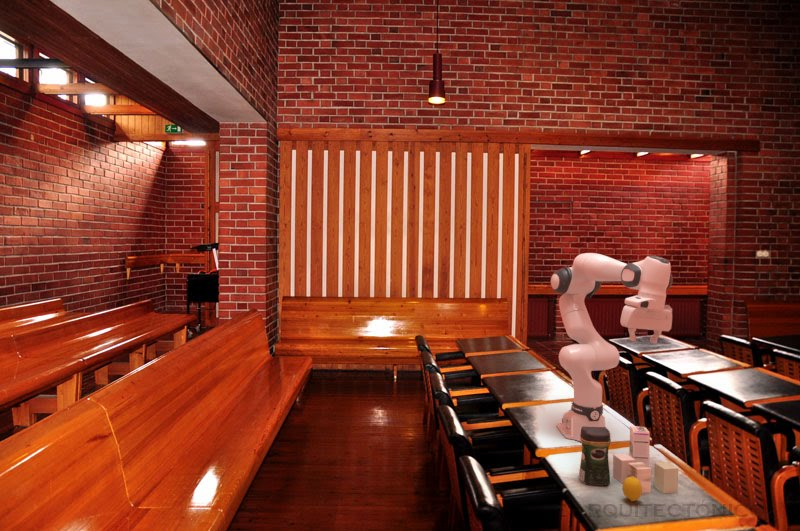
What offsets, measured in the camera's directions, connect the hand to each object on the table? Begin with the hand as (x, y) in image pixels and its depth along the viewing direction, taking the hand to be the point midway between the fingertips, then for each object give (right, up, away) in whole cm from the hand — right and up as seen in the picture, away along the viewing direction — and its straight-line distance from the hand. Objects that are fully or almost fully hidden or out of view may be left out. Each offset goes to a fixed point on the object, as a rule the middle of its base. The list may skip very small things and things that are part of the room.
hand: (642, 341), depth 186 cm
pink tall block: (-6, -47, -11) cm, 49 cm away
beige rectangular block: (+3, -47, -10) cm, 48 cm away
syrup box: (+1, -47, +5) cm, 47 cm away
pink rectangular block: (-9, -47, -4) cm, 48 cm away
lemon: (-12, -48, -19) cm, 53 cm away
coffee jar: (-19, -47, -5) cm, 51 cm away
